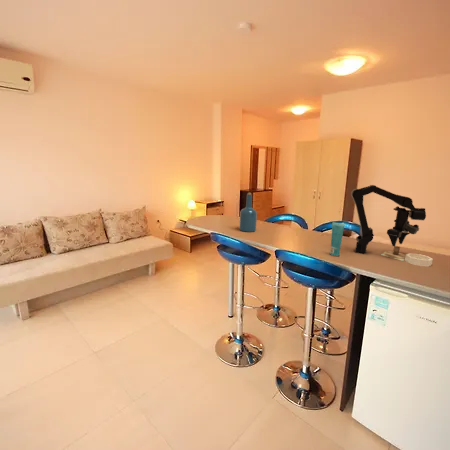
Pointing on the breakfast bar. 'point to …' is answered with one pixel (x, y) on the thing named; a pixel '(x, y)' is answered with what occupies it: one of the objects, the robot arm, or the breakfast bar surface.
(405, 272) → the breakfast bar surface
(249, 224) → the wine bottle
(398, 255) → the lid
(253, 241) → the breakfast bar surface
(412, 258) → the bowl
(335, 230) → the tube
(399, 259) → the mat
